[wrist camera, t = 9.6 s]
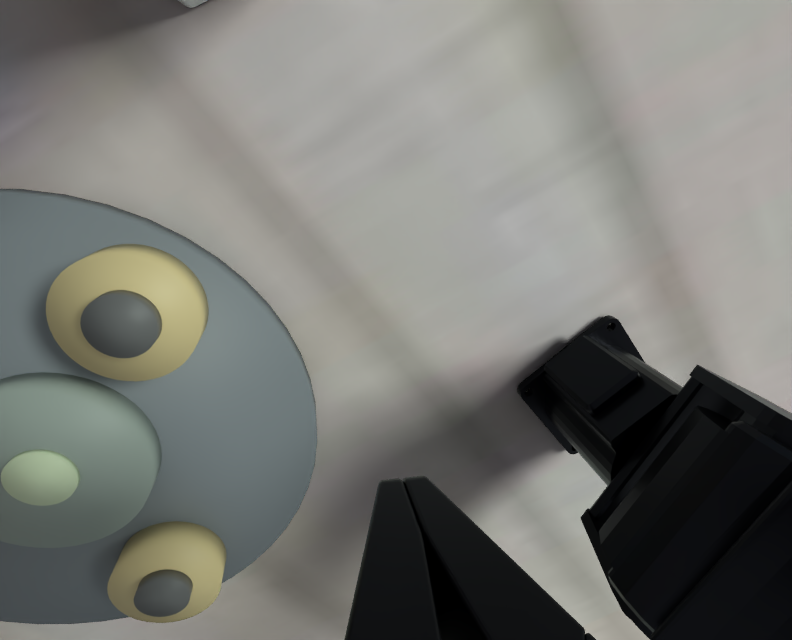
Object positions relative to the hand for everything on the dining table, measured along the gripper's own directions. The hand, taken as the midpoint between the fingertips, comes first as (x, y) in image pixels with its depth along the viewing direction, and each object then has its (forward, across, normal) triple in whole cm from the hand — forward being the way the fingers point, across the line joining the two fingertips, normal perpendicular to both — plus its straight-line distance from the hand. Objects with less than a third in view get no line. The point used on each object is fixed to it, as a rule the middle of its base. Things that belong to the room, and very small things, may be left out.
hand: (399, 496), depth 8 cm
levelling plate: (+13, +12, +7) cm, 19 cm away
